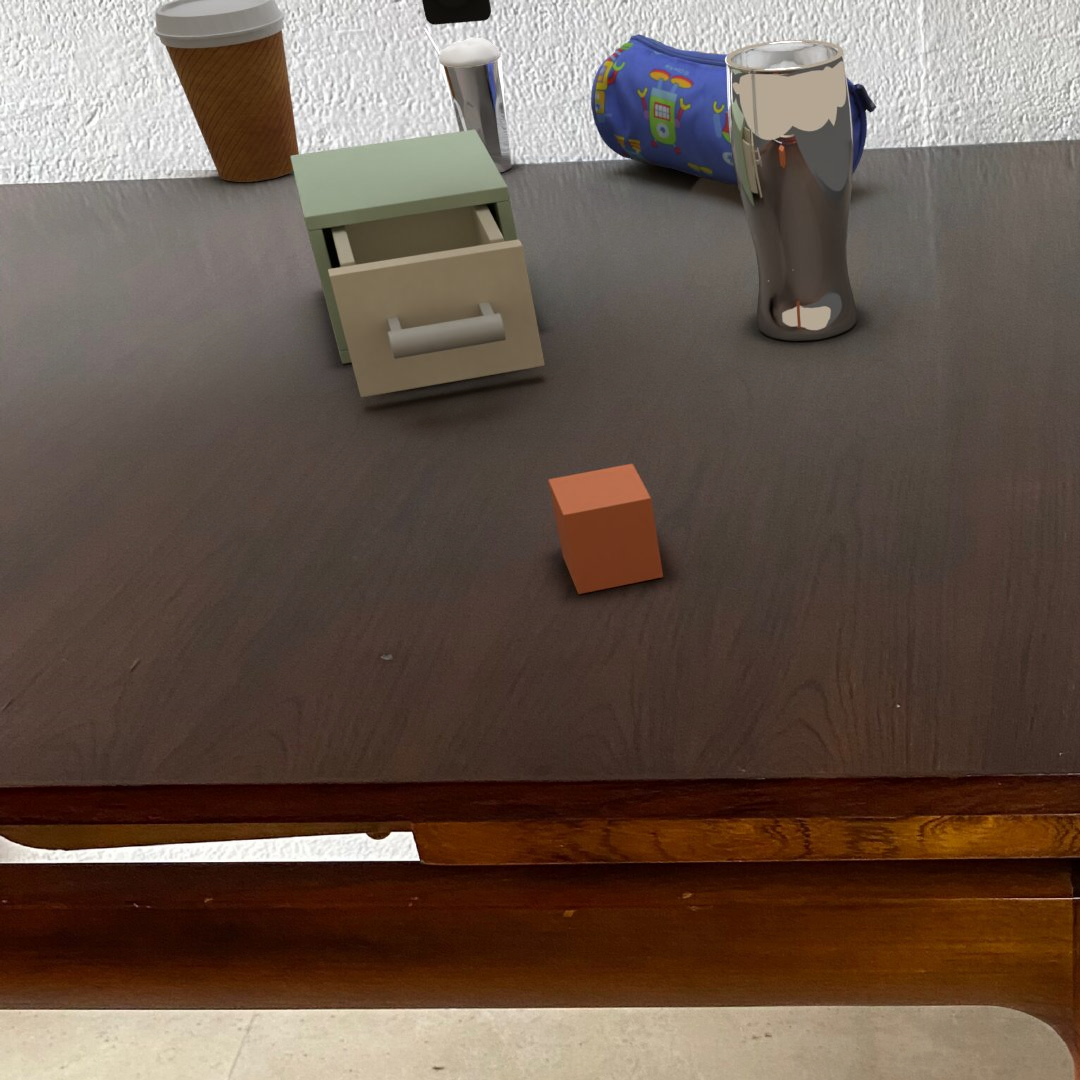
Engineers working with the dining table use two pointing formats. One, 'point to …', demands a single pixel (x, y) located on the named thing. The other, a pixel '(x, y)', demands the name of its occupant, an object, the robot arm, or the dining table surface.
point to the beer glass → (795, 181)
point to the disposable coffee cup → (234, 82)
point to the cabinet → (393, 192)
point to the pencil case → (680, 108)
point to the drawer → (433, 300)
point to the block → (606, 528)
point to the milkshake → (478, 93)
